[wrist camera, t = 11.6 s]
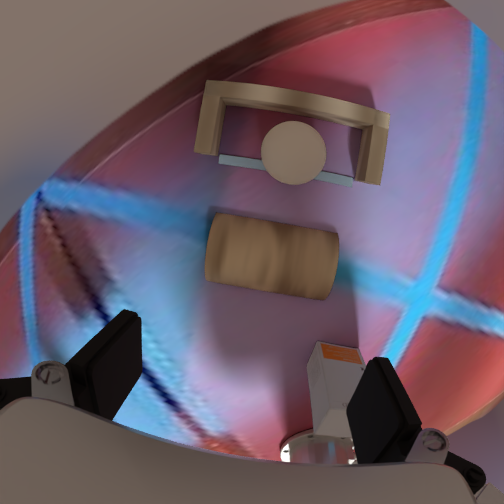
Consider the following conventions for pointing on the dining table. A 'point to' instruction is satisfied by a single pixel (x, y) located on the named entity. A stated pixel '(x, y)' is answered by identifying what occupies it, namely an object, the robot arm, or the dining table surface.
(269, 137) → the ball
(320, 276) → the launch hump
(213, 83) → the rail
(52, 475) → the robot arm
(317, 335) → the dining table surface
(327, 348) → the skincare box
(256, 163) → the tape line
